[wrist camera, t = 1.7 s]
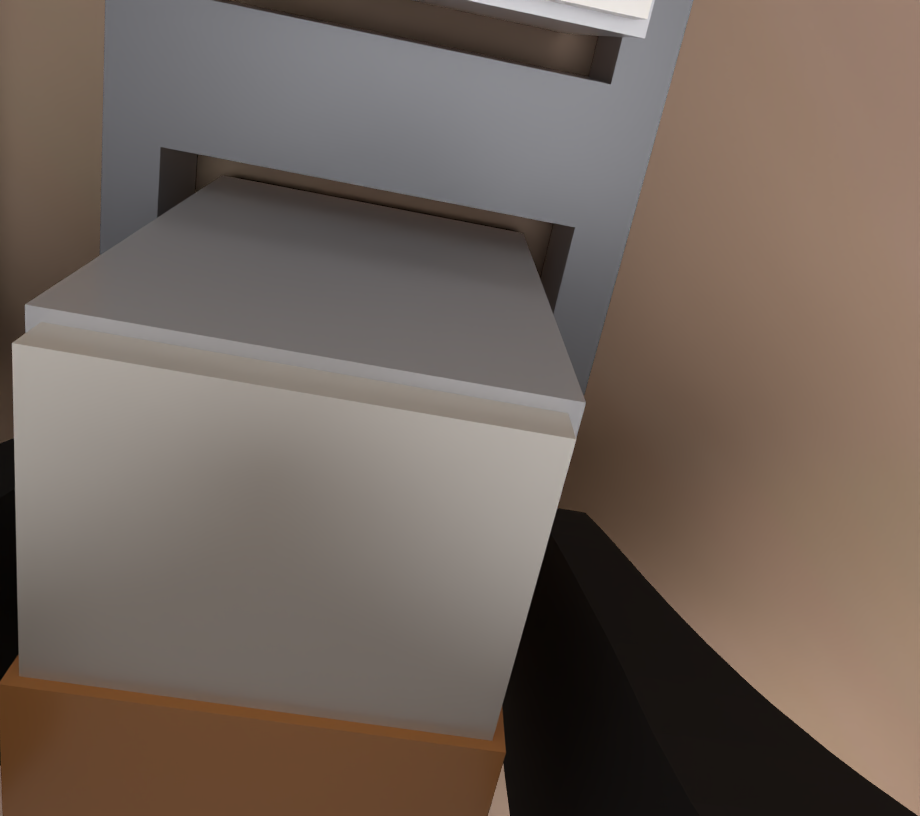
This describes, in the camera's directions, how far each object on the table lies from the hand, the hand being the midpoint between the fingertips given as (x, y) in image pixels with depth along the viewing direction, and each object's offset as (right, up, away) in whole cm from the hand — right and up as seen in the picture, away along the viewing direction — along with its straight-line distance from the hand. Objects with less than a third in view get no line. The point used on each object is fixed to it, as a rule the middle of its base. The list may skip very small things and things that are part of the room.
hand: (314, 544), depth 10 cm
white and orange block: (0, +1, +2) cm, 2 cm away
